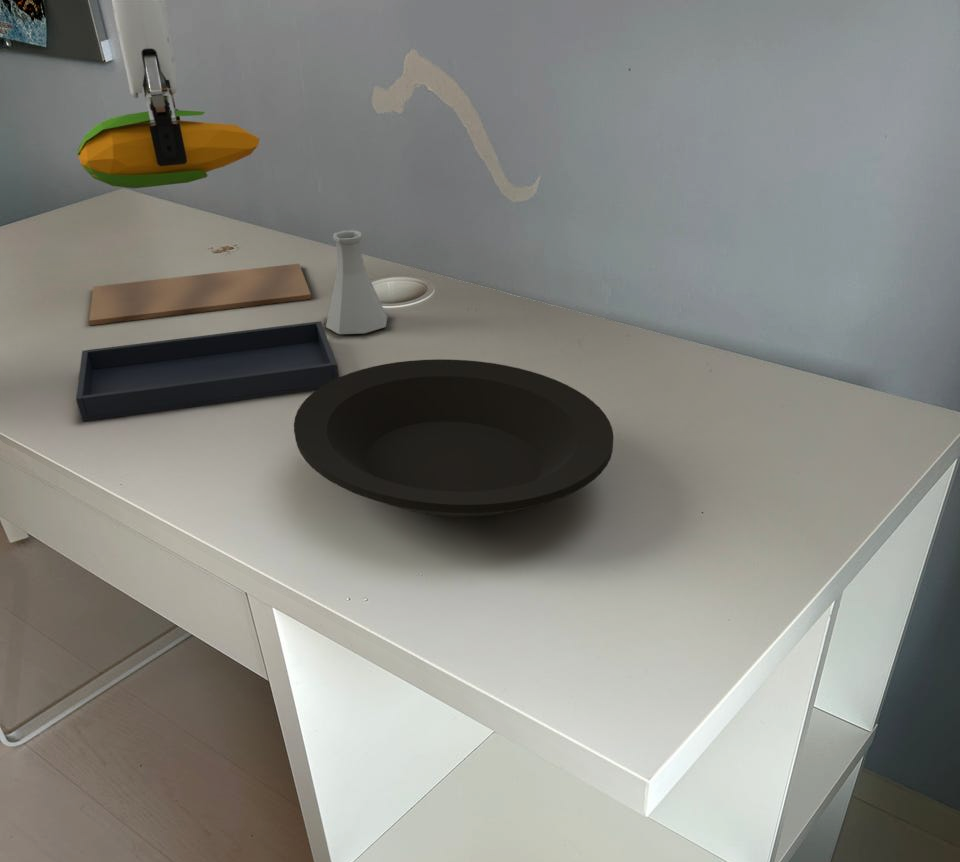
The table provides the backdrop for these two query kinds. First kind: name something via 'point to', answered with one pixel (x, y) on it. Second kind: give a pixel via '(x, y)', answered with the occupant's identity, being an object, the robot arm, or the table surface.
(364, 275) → the flask
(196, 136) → the corn
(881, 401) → the table surface
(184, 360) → the tray
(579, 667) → the table surface
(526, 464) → the plate
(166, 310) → the board
